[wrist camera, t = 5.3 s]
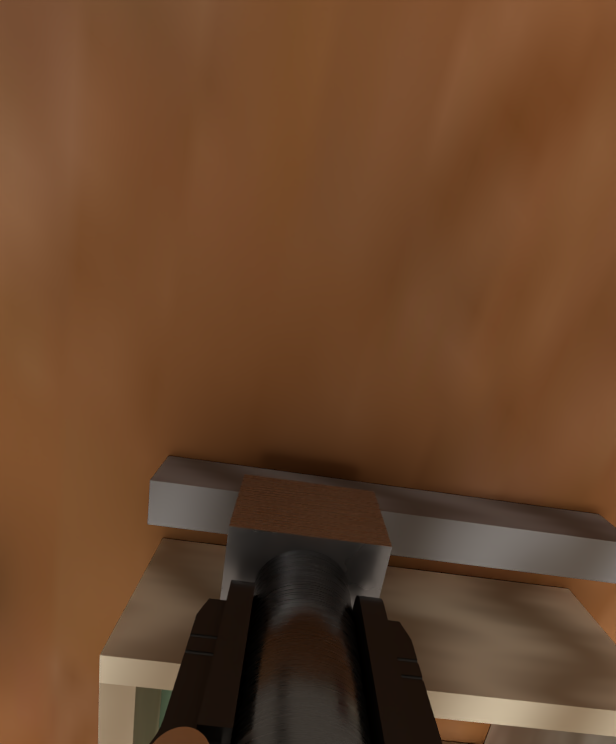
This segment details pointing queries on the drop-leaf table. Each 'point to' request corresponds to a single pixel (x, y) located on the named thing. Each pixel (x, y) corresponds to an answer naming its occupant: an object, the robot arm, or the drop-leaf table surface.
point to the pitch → (398, 608)
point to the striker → (303, 608)
